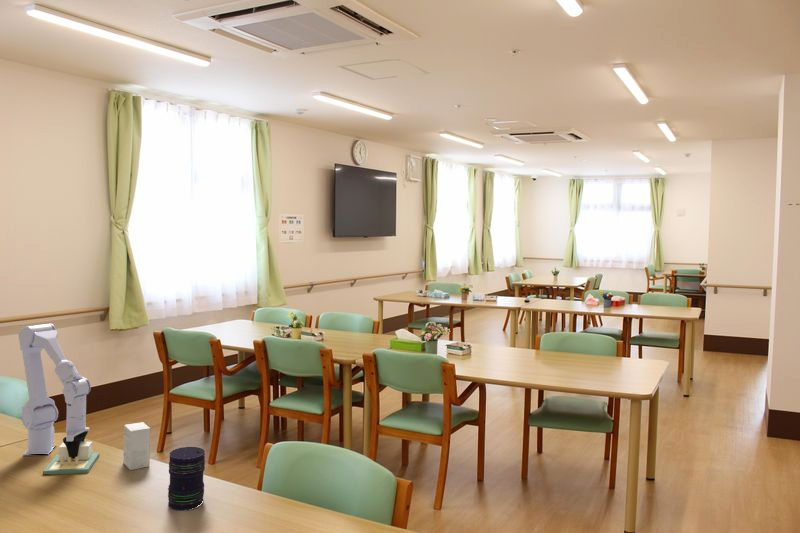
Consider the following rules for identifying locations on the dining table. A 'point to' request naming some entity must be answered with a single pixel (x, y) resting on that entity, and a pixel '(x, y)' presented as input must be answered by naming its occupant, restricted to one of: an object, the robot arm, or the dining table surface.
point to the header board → (70, 465)
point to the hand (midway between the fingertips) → (75, 455)
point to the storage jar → (186, 478)
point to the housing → (83, 452)
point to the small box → (136, 445)
